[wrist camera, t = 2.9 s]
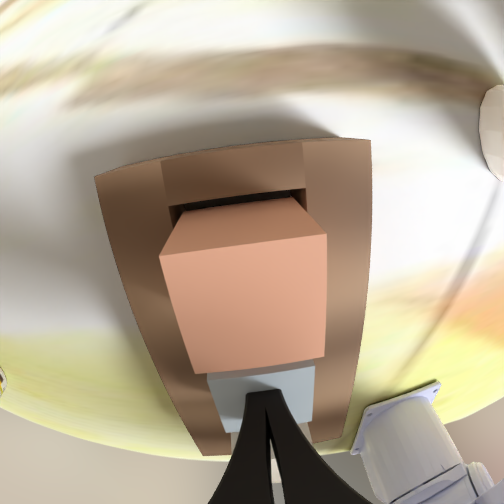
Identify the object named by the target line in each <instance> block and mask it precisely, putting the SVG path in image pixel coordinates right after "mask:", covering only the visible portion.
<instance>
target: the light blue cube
mask: <svg viewBox="0 0 504 504" xmlns="http://www.w3.org/2000/svg"><path fill="white" fill-rule="evenodd" d="M314 378H315V364H314V361H313V359H309V360H303V361H298V362H292V363H286V364H280V365H273V366H266V367H259V368H251V369H243V370H234V371H224V372H213V373H207V382H208V385H209V388H210V391H211V394H212V397H213V400H214V402H215V405H216V408H217V411H218V413H219V416H220V419H221V421H222V424H223V426H224V429H225V432H226V433H230V432H239V431H240V428H241V424H242V419H243V414H244V408H245V397H246V394H247V393H250V392H258V391H265V390H272V389H281V390H282V394H283V396H284V399H285V401H286V404H287V406H288V408H289V410H290V412H291V414H292V416H293V417H294V419H295V421H296V423H297V424H299V423H305V422H310V421H312V412H313V396H314Z"/></svg>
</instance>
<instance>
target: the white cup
mask: <svg viewBox="0 0 504 504" xmlns="http://www.w3.org/2000/svg"><path fill="white" fill-rule="evenodd" d="M479 133H480V139H481V146H482V152H483V155H484V157H485V160H486V162H487V164H488V167H489V169H490V171H491V172H492V173H493V174H494V175H495V176H496V177H497V178H498V179H499V180H500V181H501V182H503V183H504V85H496V86H495V87H493V88H491V89H489V90H488V91H487V92H486V94H485V97H484V99H483V101H482V104H481V106H480V120H479Z"/></svg>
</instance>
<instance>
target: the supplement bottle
mask: <svg viewBox="0 0 504 504" xmlns="http://www.w3.org/2000/svg"><path fill="white" fill-rule="evenodd" d="M6 386H7V380H6V377H5V374H4V372H3V370H2V369H1V367H0V397H1V395H2V394H3V392H4V390H5V388H6Z"/></svg>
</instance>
